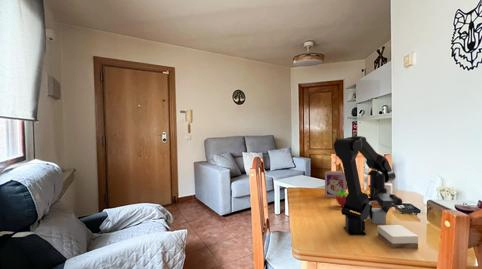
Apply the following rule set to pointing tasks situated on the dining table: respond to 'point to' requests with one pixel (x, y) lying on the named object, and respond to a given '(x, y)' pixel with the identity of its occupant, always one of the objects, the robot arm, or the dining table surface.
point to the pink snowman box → (334, 183)
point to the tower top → (397, 234)
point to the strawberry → (341, 197)
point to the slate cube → (378, 216)
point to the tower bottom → (399, 244)
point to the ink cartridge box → (388, 188)
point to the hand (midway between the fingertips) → (376, 218)
